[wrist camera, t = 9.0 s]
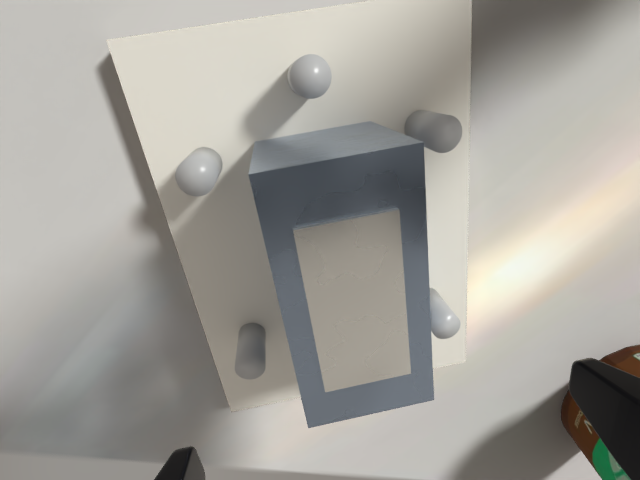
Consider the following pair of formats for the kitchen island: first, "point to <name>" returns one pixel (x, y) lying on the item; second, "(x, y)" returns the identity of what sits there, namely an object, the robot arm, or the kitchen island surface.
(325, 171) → the block
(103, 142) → the kitchen island surface
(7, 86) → the kitchen island surface
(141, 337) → the kitchen island surface
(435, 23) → the cream pegged board
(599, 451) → the food container
